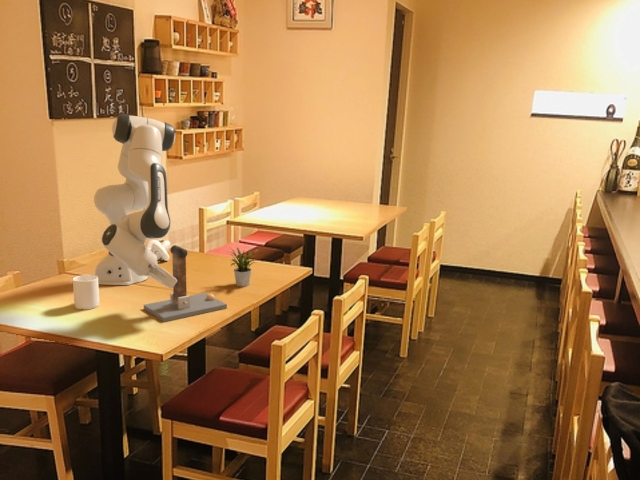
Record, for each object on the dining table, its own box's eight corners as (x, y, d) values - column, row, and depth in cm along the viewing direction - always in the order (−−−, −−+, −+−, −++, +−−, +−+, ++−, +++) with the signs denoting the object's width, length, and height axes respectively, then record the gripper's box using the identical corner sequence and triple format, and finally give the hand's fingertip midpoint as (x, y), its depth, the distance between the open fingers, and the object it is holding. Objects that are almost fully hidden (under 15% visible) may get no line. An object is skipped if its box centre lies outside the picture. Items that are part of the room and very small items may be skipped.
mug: (85, 298, 219) (83, 271, 217) (107, 299, 219) (105, 272, 216) (70, 309, 207) (68, 281, 205) (93, 310, 207) (92, 281, 205)
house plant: (214, 286, 237) (214, 246, 233) (232, 277, 250) (232, 239, 246) (246, 291, 232) (246, 250, 228) (263, 282, 245) (263, 243, 241)
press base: (163, 322, 198) (163, 306, 197) (143, 308, 210) (143, 293, 209) (226, 308, 213) (226, 293, 212) (204, 296, 225) (204, 282, 224)
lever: (180, 303, 206) (178, 249, 202) (171, 298, 211) (170, 245, 206) (188, 301, 208) (187, 248, 204) (180, 296, 213) (178, 244, 208)
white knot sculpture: (157, 255, 282) (156, 237, 280) (178, 258, 278) (178, 239, 276) (141, 261, 272) (140, 241, 270) (163, 264, 268) (162, 244, 266)
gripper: (163, 261, 191) (191, 286, 199) (137, 248, 206) (164, 271, 215) (150, 277, 189) (179, 301, 197) (125, 263, 205) (153, 285, 213)
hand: (171, 285), depth 206 cm, fingers closed
